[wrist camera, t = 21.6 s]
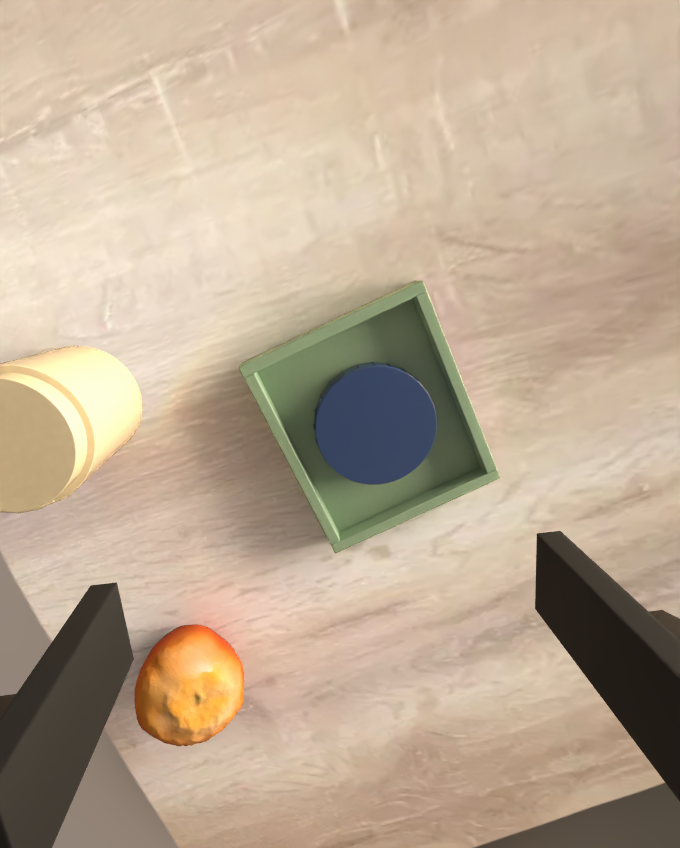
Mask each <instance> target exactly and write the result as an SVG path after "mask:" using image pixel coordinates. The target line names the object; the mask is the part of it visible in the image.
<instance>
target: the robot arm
mask: <svg viewBox="0 0 680 848" xmlns="http://www.w3.org/2000/svg"><path fill="white" fill-rule="evenodd" d="M535 609H536V610H537V612H538V613H539V614H540V616H541V617H542V618H543V620H544V621H545V622H546V624H547V625H548V626H549V628H550V629H551V630H552V632H553V633H554V634H555V636H556V637H557V638H558V640H559V641H560V642H561V644H562V645H563V646H564V648H565V649H566V650H567V652H568V653H569V654H570V656H571V657H572V658H573V660H574V661H575V662H576V664H577V665H578V666H579V668H580V669H581V670H582V672H583V673H584V674H585V676H586V677H587V678H588V680H589V681H590V682H591V684H592V685H593V686H594V688H595V689H596V690H597V692H598V693H599V694H600V696H601V697H602V698H603V700H604V701H605V702H606V704H607V705H608V706H609V708H610V709H611V710H612V712H613V713H614V714H615V716H616V717H617V718H618V720H619V721H620V722H621V724H622V725H623V726H624V728H625V729H626V730H627V732H628V733H629V734H630V736H631V737H632V738H633V740H634V741H635V742H636V744H637V745H638V746H639V748H640V749H641V750H642V752H643V753H644V754H645V756H646V757H647V758H648V760H649V761H650V762H651V764H652V765H653V766H654V768H655V769H656V770H657V772H658V773H659V774H660V776H661V777H662V778H663V780H664V781H665V782H666V784H667V785H668V786H669V788H670V789H671V790H672V792H673V793H674V794H675V796H676V797H677V798H678V800H679V801H680V619H679V618H677V617H675V616H673V615H671V614H669V613H667V612H665V611H663V610H659V611H651V612H648V611H647V610H646V609H645V608H644V607H643V606H642V605H641V604H639V603H638V602H637V601H636V600H635V599H634V598H633V597H632V596H631V595H630V594H628V593H627V592H626V591H625V590H624V589H623V588H622V587H621V586H620V585H619V584H618V583H616V582H615V581H614V580H613V579H612V578H611V577H610V576H609V575H608V574H607V573H606V572H604V571H603V570H602V569H601V568H600V567H599V566H598V565H597V564H596V563H595V562H594V561H592V560H591V559H590V558H589V557H588V556H587V555H586V554H585V553H584V552H583V551H582V550H580V549H579V548H578V547H577V546H576V545H575V544H574V543H573V542H572V541H571V540H570V539H568V538H567V537H566V536H565V535H564V534H563V533H562V532H561V531H556V532H547V533H539V534H537V555H536V599H535ZM133 660H134V658H133V654H132V649H131V645H130V640H129V636H128V631H127V627H126V622H125V618H124V613H123V609H122V604H121V600H120V595H119V591H118V586H117V583H109V584H100V585H92V586H90V588H89V589H88V591H87V592H86V593H85V595H84V596H83V598H82V599H81V601H80V602H79V604H78V605H77V607H76V608H75V609H74V611H73V612H72V614H71V615H70V617H69V618H68V620H67V621H66V623H65V624H64V626H63V627H62V628H61V630H60V631H59V633H58V634H57V636H56V637H55V639H54V640H53V642H52V643H51V645H50V646H49V647H48V649H47V650H46V652H45V653H44V655H43V656H42V658H41V659H40V661H39V662H38V664H37V665H36V667H35V668H34V669H33V671H32V672H31V674H30V675H29V677H28V678H27V680H26V681H25V682H24V684H23V685H22V687H21V689H20V690H19V691H18V693H17V694H13V695H5V696H0V848H52V846H53V844H54V842H55V839H56V837H57V835H58V832H59V830H60V828H61V826H62V823H63V821H64V819H65V816H66V814H67V812H68V809H69V807H70V805H71V802H72V800H73V798H74V796H75V793H76V791H77V789H78V786H79V784H80V782H81V779H82V777H83V775H84V772H85V770H86V768H87V766H88V763H89V761H90V759H91V756H92V754H93V752H94V749H95V747H96V745H97V743H98V740H99V738H100V736H101V733H102V731H103V729H104V726H105V724H106V722H107V720H108V717H109V715H110V713H111V710H112V708H113V706H114V703H115V701H116V699H117V696H118V694H119V692H120V690H121V687H122V685H123V683H124V680H125V678H126V676H127V673H128V671H129V669H130V667H131V664H132V662H133Z"/></svg>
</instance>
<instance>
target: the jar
mask: <svg viewBox="0 0 680 848" xmlns="http://www.w3.org/2000/svg"><path fill="white" fill-rule="evenodd" d="M141 416H142V398H141V393H140V390H139V387H138V385H137V383H136V381H135V379H134V377H133V376H132V374H131V373H130V372H129V370H128V369H127V368H126V367H125V366H124V365H123V364H122V363H121V362H120V361H118V360H117V359H116V358H114V357H113V356H111V355H109V354H108V353H106V352H103V351H101V350H98V349H95V348H91V347H86V346H68V347H63V348H59V349H55V350H51V351H47V352H43V353H40V354H36V355H32V356H28V357H24V358H20V359H16V360H12V361H8V362H5V363H1V364H0V512H9V513H23V512H28V511H33V510H38V509H40V508H43V507H45V506H47V505H49V504H52V503H54V502H57V501H60V500H61V499H63V498H65V497H67V496H68V495H70V494H71V493H72V492H74V491H75V490H76V489H77V488H78V487H79V486H81V485H82V484H83V483H84V482H85V481H86V480H87V479H88V478H89V477H90V476H91V475H92V474H94V473H95V472H96V471H97V470H98V469H99V468H100V467H101V466H102V465H103V464H104V463H105V462H107V461H108V460H109V459H110V458H111V457H112V456H113V455H114V454H115V453H116V452H117V451H118V450H120V449H121V448H122V447H123V446H124V445H125V444H126V443H127V442H128V441H129V440H130V439H131V438H132V436H133V435H134V434H135V432H136V430H137V428H138V426H139V423H140V421H141Z"/></svg>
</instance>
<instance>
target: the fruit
mask: <svg viewBox="0 0 680 848" xmlns="http://www.w3.org/2000/svg"><path fill="white" fill-rule="evenodd" d="M243 691H244V672H243V666H242V663H241V661H240V659H239V657H238V656H237V654H236V652H235V651H234V650H233V648H232V647H231V646H230V645H229V644H228V642H227V641H225V640H224V639H223V638H222V637H220V636H219V635H218V634H216V633H215V632H214V631H212V630H211V629H209V628H208V627H205V626H201V625H185V626H180V627H178V628H176V629H174V630H173V631H171V632H170V633H168V634H167V635H166V636H164V637H163V638H162V639H161V640H160V641H159V642H158V643H157V644H156V645H155V646H154V647H153V648H152V650H151V651H150V653H149V655H148V656H147V658H146V660H145V662H144V664H143V665H142V667H141V670H140V672H139V675H138V678H137V682H136V686H135V709H136V716H137V720H138V723H139V725H140V726H141V728H142V729H143V730H144V731H146V732H147V733H148V734H150V735H151V736H153V737H154V738H156V739H158V740H160V741H162V742H164V743H167V744H172V745H177V746H182V745H184V746H188V745H194V744H196V743H202V742H205V741H207V740H209V739H210V738H211V737H213V736H215V735H216V734H218V733H219V732H221V731H222V730H223V729H224V728H225V727H226V726H227V725H228V723H229V722H230V721H231V720H232V719H233V717H234V716H235V715H236V714H237V712H238V711H239V710H240V709H241V707H242V705H243Z"/></svg>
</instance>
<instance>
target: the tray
mask: <svg viewBox="0 0 680 848" xmlns="http://www.w3.org/2000/svg"><path fill="white" fill-rule="evenodd" d="M426 291H427V290H426V287H425V285H424V282H423V281H414V282H412V283H409V284H407V285H405V286H403V287H401V288H399V289H397V290H395V291H393V292H390V293H388V294H386V295H384V296H382V297H380V298H378V299H376V300H374V301H371V302H369V303H367V304H365V305H363V306H361V307H359V308H357V309H355V310H352V311H350V312H348V313H346V314H344V315H342V316H340V317H338V318H336V319H334V320H331V321H329V322H327V323H325V324H323V325H321V326H319V327H317V328H315V329H312V330H310V331H308V332H306V333H304V334H302V335H300V336H298V337H296V338H293V339H291V340H289V341H287V342H285V343H283V344H281V345H279V346H277V347H274V348H272V349H270V350H268V351H266V352H264V353H262V354H260V355H258V356H255V357H253V358H251V359H249V360H247V361H245V362H243V363H241V365H240V366H239V370H240V372H241V374H242V375H243V377H244V379H245V381H246V383H247V385H248V387H249V389H250V391H251V393H252V395H253V396H254V398H255V400H256V402H257V404H258V406H259V408H260V410H261V412H262V414H263V416H264V418H265V420H266V421H267V423H268V425H269V427H270V429H271V431H272V433H273V435H274V437H275V439H276V441H277V443H278V444H279V446H280V448H281V450H282V452H283V454H284V456H285V458H286V460H287V462H288V464H289V466H290V468H291V469H292V471H293V473H294V475H295V477H296V479H297V481H298V483H299V485H300V487H301V489H302V491H303V492H304V494H305V496H306V498H307V500H308V502H309V504H310V506H311V508H312V510H313V512H314V514H315V515H316V517H317V519H318V521H319V523H320V525H321V527H322V529H323V531H324V533H325V535H326V537H327V539H328V540H329V542H330V544H331V546H332V548H333V550H334V552H335V553H337V552H340V551H342V550H344V549H346V548H348V547H350V546H353V545H355V544H357V543H359V542H361V541H364V540H366V539H368V538H370V537H372V536H375V535H377V534H379V533H381V532H383V531H385V530H388V529H390V528H392V527H394V526H396V525H399V524H401V523H403V522H405V521H407V520H409V519H412V518H414V517H416V516H418V515H420V514H423V513H425V512H427V511H429V510H431V509H434V508H436V507H438V506H440V505H442V504H444V503H447V502H449V501H451V500H453V499H455V498H458V497H460V496H462V495H464V494H466V493H468V492H471V491H473V490H475V489H477V488H479V487H482V486H484V485H486V484H488V483H490V482H493V481H495V480H497V479H499V478H500V475H499V473H498V470H497V468H496V465H495V463H494V460H493V458H492V455H491V452H490V450H489V447H488V445H487V442H486V440H485V437H484V435H483V432H482V430H481V427H480V425H479V422H478V419H477V417H476V414H475V412H474V409H473V407H472V404H471V402H470V399H469V397H468V394H467V391H466V389H465V386H464V384H463V381H462V379H461V376H460V374H459V371H458V369H457V366H456V364H455V361H454V358H453V356H452V353H451V351H450V348H449V346H448V343H447V341H446V338H445V336H444V333H443V331H442V328H441V325H440V323H439V320H438V318H437V315H436V313H435V310H434V308H433V305H432V303H431V300H430V298H429V295H428V292H426ZM371 362H374V363H384V364H387V363H389V364H390V365H392V366H395V367H398V368H400V369H401V368H402V369H404V370H405V371H406V372H407V373H408V374H410V375H411V376H412V377H415V378H416V379H418V380H419V381H418V382H420V384H421V385H422V386H423V387H424V388H425V389H426V391H427V392H428V394H429V395H430V397H431V399H432V401H433V404H434V407H435V412H436V419H437V427H436V435H435V439H434V442H433V445H432V447H431V449H430V451H429V453H428V455H427V456H426V458H425V459H424V460H423V462H422V463H421V464H420V465H419V466H418V467H417V468H416V469H415V470H414V471H412V472H411V473H409V474H408V475H406V476H405V477H403V478H401V479H398V480H396V481H393V482H390V483H386V484H378V485H369V484H362V483H358V482H354V481H352V480H349V479H347V478H345V477H343V476H341V475H340V474H339V473H337V472H336V471H335V470H334V469H333V468H332V467H331V466H330V465H329V464H328V463H327V462H326V460H325V459H324V458H323V455H322V454H321V452H320V449H319V447H318V444H317V443H316V433H315V429H314V426H313V424H314V418H315V409H316V407H317V403H318V401H319V398H320V394H322V392H323V391H324V389H325V388H326V387H327V385H328V384H329V381H330V382H331V381H332V380H333V379H334V378H335V377H336V376H338V375H339V374H340V373H341V371H345V370H347V369H349V368H351V367H354V366H356V364H357V365H360V364H365V363H371Z"/></svg>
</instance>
